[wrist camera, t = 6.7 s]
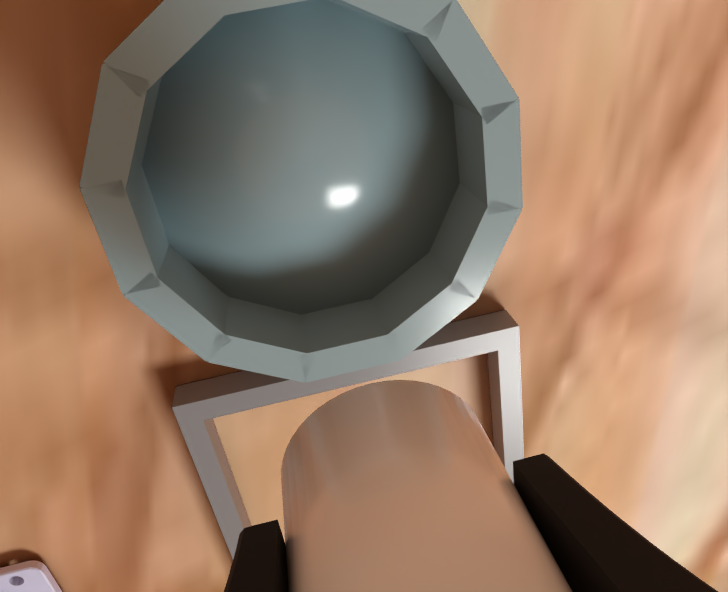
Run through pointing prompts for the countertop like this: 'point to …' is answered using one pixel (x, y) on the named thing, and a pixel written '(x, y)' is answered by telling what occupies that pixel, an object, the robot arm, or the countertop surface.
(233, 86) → the bowl
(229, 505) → the empty gray rectangular frame
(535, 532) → the pestle
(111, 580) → the countertop surface
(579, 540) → the robot arm
